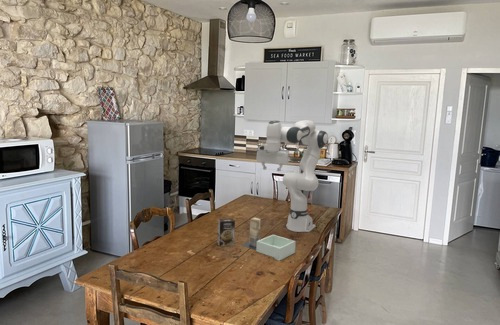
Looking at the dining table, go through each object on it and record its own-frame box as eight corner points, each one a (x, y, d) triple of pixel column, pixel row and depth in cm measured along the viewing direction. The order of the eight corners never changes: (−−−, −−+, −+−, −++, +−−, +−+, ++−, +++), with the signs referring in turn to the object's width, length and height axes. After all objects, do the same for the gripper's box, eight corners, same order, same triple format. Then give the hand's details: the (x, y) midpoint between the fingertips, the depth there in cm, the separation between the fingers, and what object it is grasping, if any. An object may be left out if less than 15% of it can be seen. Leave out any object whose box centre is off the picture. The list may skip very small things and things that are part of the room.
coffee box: (219, 248, 220) (220, 221, 217) (217, 244, 226) (217, 218, 223) (234, 247, 222) (235, 220, 220) (232, 243, 228) (232, 217, 226)
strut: (253, 242, 227) (254, 217, 225) (259, 244, 225) (260, 219, 222) (249, 244, 224) (250, 219, 222) (254, 246, 221) (255, 220, 219)
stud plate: (252, 241, 233) (253, 234, 232) (268, 246, 225) (268, 238, 225) (240, 246, 223) (240, 238, 223) (255, 251, 216) (256, 244, 215)
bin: (272, 245, 227) (273, 234, 226) (294, 252, 217) (295, 241, 216) (256, 252, 215) (256, 241, 214) (279, 260, 205) (279, 248, 204)
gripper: (291, 148, 224) (289, 171, 226) (260, 146, 233) (259, 167, 235) (287, 149, 219) (285, 172, 220) (255, 146, 228) (254, 169, 229)
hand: (271, 170), depth 228 cm, fingers open, 8 cm apart
